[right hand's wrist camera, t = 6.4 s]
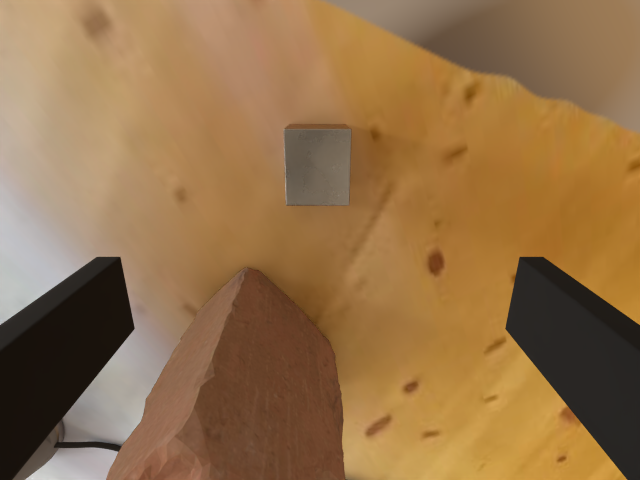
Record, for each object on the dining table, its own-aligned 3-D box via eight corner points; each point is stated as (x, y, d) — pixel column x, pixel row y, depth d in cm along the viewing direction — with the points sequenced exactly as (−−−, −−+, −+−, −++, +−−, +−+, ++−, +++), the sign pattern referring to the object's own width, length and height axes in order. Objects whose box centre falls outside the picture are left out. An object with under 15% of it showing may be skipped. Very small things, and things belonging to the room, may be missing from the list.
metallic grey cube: (346, 124, 42) (351, 128, 35) (344, 189, 44) (349, 205, 38) (289, 124, 42) (283, 128, 35) (291, 189, 44) (285, 205, 38)
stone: (365, 363, 52) (401, 621, 26) (307, 407, 55) (285, 682, 28) (253, 256, 48) (155, 438, 21) (195, 310, 50) (44, 531, 24)
